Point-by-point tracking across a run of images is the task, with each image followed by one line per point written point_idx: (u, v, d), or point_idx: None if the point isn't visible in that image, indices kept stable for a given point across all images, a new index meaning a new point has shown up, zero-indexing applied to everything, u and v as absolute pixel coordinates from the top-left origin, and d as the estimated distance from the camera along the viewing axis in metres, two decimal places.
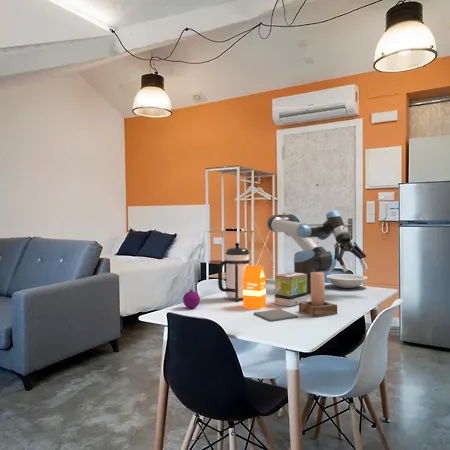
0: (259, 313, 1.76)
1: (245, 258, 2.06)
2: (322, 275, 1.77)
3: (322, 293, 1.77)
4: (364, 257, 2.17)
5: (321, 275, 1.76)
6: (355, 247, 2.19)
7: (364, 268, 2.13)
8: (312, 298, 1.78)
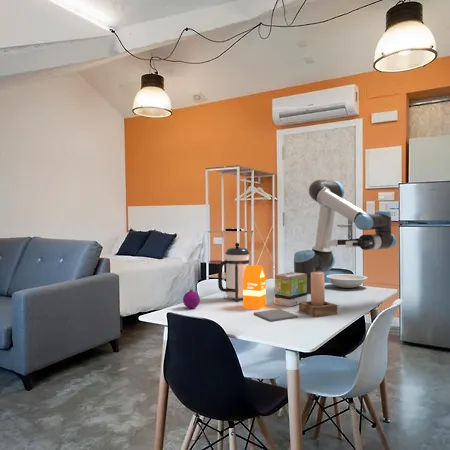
0: (259, 313, 1.76)
1: (245, 258, 2.06)
2: (322, 275, 1.77)
3: (322, 293, 1.77)
4: None
5: (321, 275, 1.76)
6: None
7: (328, 242, 1.95)
8: (312, 298, 1.78)
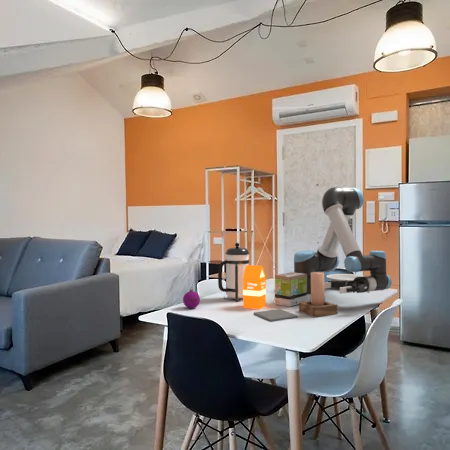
0: (259, 313, 1.76)
1: (245, 258, 2.06)
2: (322, 275, 1.77)
3: (322, 293, 1.77)
4: None
5: (321, 275, 1.76)
6: None
7: None
8: (312, 298, 1.78)
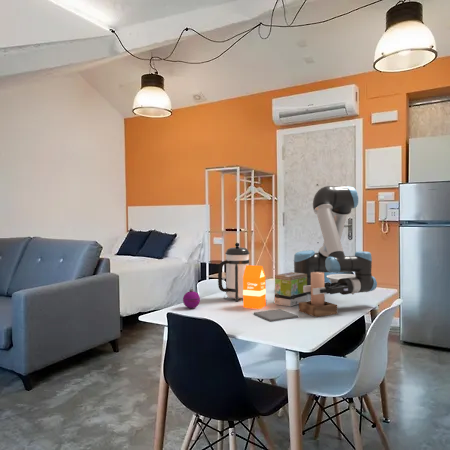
0: (259, 313, 1.76)
1: (245, 258, 2.06)
2: (322, 275, 1.77)
3: None
4: None
5: (321, 275, 1.76)
6: None
7: (305, 288, 1.80)
8: (312, 298, 1.78)
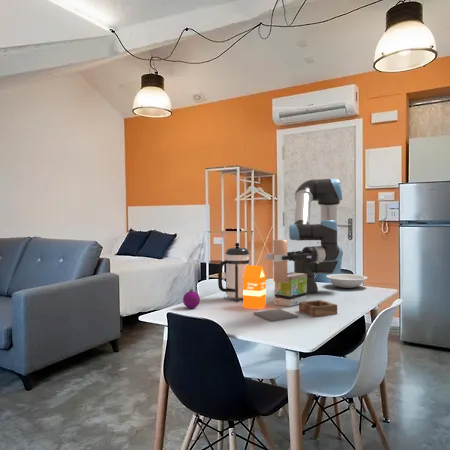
0: (259, 313, 1.76)
1: (245, 258, 2.06)
2: (284, 242, 1.71)
3: (284, 261, 1.71)
4: None
5: (283, 242, 1.71)
6: None
7: (268, 256, 1.74)
8: (274, 266, 1.72)
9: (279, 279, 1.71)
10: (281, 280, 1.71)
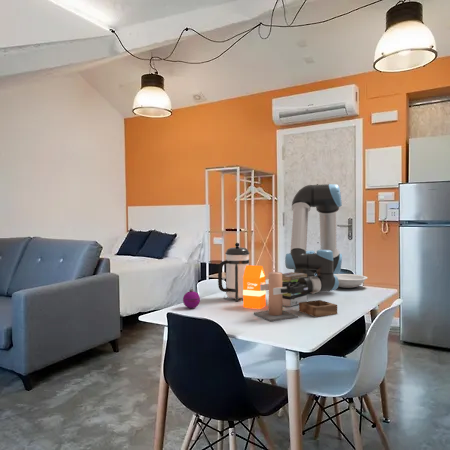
0: (259, 313, 1.76)
1: (245, 258, 2.06)
2: (279, 275, 1.72)
3: (279, 294, 1.72)
4: None
5: (278, 275, 1.71)
6: None
7: (262, 287, 1.77)
8: (269, 299, 1.73)
9: (274, 312, 1.72)
10: (276, 313, 1.71)
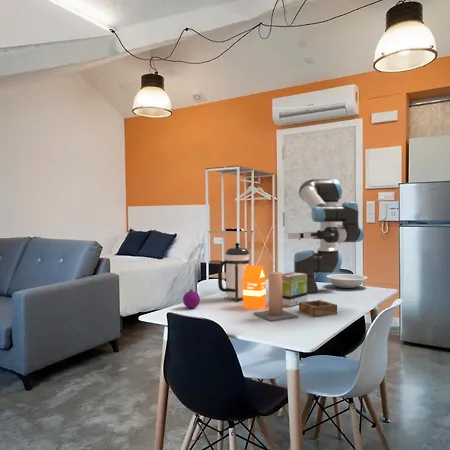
0: (259, 313, 1.76)
1: (245, 258, 2.06)
2: (279, 275, 1.72)
3: (279, 294, 1.72)
4: None
5: (278, 275, 1.71)
6: None
7: (290, 235, 1.87)
8: (269, 299, 1.73)
9: (274, 312, 1.72)
10: (276, 314, 1.71)
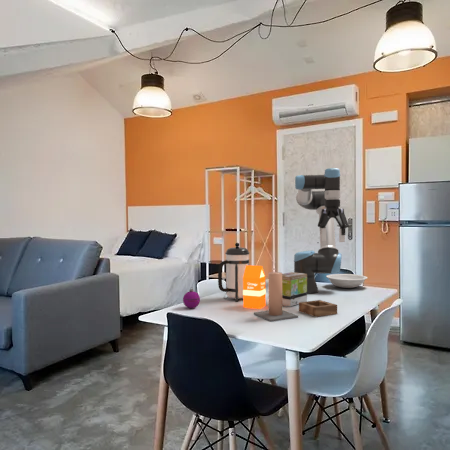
0: (259, 313, 1.76)
1: (245, 258, 2.06)
2: (279, 275, 1.72)
3: (279, 294, 1.72)
4: (343, 227, 1.92)
5: (278, 275, 1.71)
6: None
7: None
8: (269, 299, 1.73)
9: (274, 312, 1.72)
10: (276, 314, 1.71)
